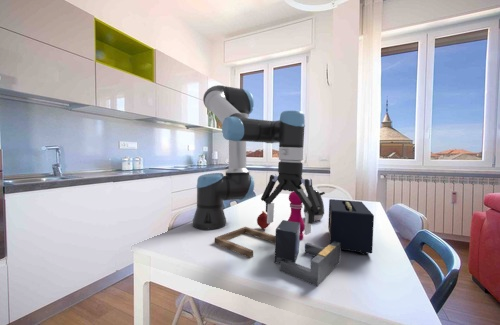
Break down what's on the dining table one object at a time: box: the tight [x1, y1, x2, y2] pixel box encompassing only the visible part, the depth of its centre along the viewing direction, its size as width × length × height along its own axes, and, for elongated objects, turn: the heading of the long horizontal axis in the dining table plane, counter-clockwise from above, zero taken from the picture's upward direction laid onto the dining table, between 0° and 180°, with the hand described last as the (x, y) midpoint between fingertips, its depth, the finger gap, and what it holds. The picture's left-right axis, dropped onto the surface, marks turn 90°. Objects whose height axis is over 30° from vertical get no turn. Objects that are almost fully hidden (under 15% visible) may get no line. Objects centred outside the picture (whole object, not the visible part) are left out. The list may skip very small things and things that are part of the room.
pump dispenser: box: [303, 189, 326, 222], centre depth 112 cm, size 10×10×15 cm
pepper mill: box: [287, 191, 305, 241], centre depth 87 cm, size 7×7×20 cm
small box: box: [273, 219, 301, 265], centre depth 70 cm, size 11×6×10 cm, turn 160°
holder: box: [214, 226, 275, 259], centre depth 81 cm, size 17×17×2 cm
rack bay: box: [279, 241, 341, 287], centre depth 64 cm, size 11×17×6 cm, turn 140°
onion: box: [256, 210, 271, 230], centre depth 96 cm, size 6×6×8 cm
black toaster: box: [327, 198, 375, 255], centre depth 83 cm, size 22×13×15 cm, turn 162°
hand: (287, 227), depth 70 cm, fingers open, 13 cm apart
